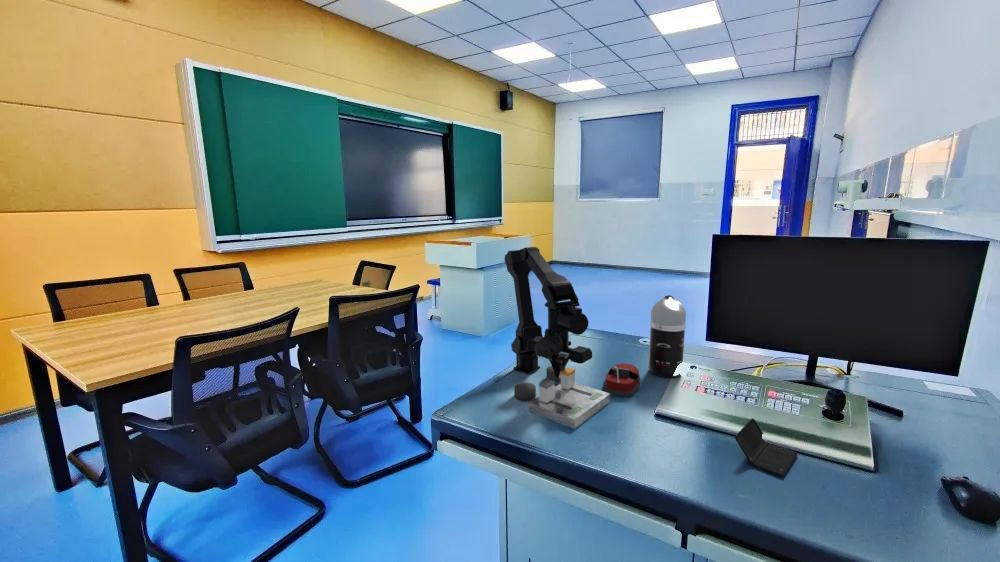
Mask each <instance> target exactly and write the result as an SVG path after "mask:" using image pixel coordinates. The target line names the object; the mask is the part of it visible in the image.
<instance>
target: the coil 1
mask: <svg viewBox="0 0 1000 562" xmlns="http://www.w3.org/2000/svg"><path fill="white" fill-rule="evenodd" d="M536 391H537V386H536V384H534V383H531V382H527V381H523V382H519V383H515V385H514V399H515V400H517V401H520V402H530V401H532V400H534V399H536V398H537V393H536Z"/></svg>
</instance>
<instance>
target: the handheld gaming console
mask: <svg viewBox="0 0 1000 562" xmlns="http://www.w3.org/2000/svg"><path fill="white" fill-rule="evenodd" d="M762 434H764V432H763V431H762V429H761V428H760V426H759V425H758V423H757V421H756V420H755V419H754V418H750V420H749V421H748V422H747V423H746V424H745V425H744V426H743V427H742V428H741V429H740V430H739V431H738V432H737V433H736V434H735V436H734V440H736V442H737V444H738V445H739V447H740V449H741V451H742V452H743V454H744V455H745V457H746V459H747V460H748V462H749V467H752V468H755V469H757V470H759V471H763V472H766V473H767V474H769V475H773V476H775V477H778V478H780V479H783V478H784V477H785V476H786V474H787V472H788V471H789V469H790V468H791V466H792V465H791V464H793V463H794V462H793V461H795V460H796V458H797V457H796V456H798V452H797V451H794V450H791V449H790V448H789V449H788V448H786V447H783V446H780V445H778V444H775V445H773V444H774V443H772V444H769V443H768V442H765V441H764V440H763V439H762ZM777 445H778V446H777ZM795 457H796V458H795ZM794 459H795V460H794ZM792 462H793V463H792ZM789 467H790V468H789ZM784 475H785V476H784Z"/></svg>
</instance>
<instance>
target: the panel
mask: <svg viewBox="0 0 1000 562" xmlns="http://www.w3.org/2000/svg"><path fill="white" fill-rule="evenodd" d="M609 403H611V395H610V393H607V392H604V390H603V391H602V390H600V389H597V388H593V387H590V386H587V385H584V384H580V383H577V382H575V386H573V387H572V388H570V389H568V390H567V389H564V388H561V383H558V385H555V398H554V399H553V400H551V401H549V402H548V403H545V402H542V401H540V400H539V396H536V398H535V399H534V400H532V401H528V412H530V413H533V414H534V415H535V414H536V415H538V416H540V417H542V418H545V419H548V420H551V421H553V422H555V423H557V424H561V425H563V426H566V427H569V428H571V429H573V430H576V429H577V428H578V427H579V426H581V425H582V424H584V422H586V421H588V420H589V419H590V418H591V417H592V416H594V415H596V413H598V412H599V411H600V410H602V409H603V408H605V406H607V405H608V404H609Z"/></svg>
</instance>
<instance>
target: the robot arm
mask: <svg viewBox="0 0 1000 562" xmlns="http://www.w3.org/2000/svg"><path fill="white" fill-rule="evenodd" d="M540 252H541V251H540V249H539V248H538V247H536V246H529V247H528V246H527V247H523V248H521V249H515V250H514V249H513V250H508V251H507V253H506V254H505V255H504V264H505V266H506V271H507V272H508V273H509V275H510V276H511V277H512V279H513V284H514V293H515V299H516V300H515V301H516V307H517V316H518V324H517V327H516V329H515V338H514V340H513V341H512V342H511V345H510V347H511V351H512V352H513V353H514V354H516V355H515V359H516V364H515V365H516V366H514V367H513V370H515V371H518V372H521V373H525V374H529V375H530V374H531V373H533V372H535V371H537V370H539V369H540V368H541V366H540V365H539V357H542V358H545V359H547V360H548V361H549V362H550V365H551V366H552V368H553V370H554V373H555V376H556V378H560V377H561V374H560V371H562V370H564V369H566V367H567V364H568V362H569V361H570V362H573V363H574V364H575V363H576V364H579V365H580V364H584V363H586V362H587V361H590V360H591V359H593V351H592V349H591V348H590V347H585V346H582V345H579V346H576V347H570V346H572V341H571V340H569V339H570V336H569V333H572V334H574V335H577V336H578V335H579V336H581V335H582V334H584V333H585V332H586V331H587V329H588V328H589V324H590V323H589V319H588V317H587V315H586V314H584V313H583V309H582V308H581V307H580V302H579V297H578V296H577V294H576V292H575V289H574V286H573V285H572V283H571V281H570V280H568V279H567V278H566V276H563V275H561V274H559V273H557V272H556V271H555V270H554V269H553V268H552V267H551V265H550V264H549V263H548V262H547V260H546V259H545V258H544V256H543V255H542V254H541V253H540ZM531 271H532V273H534V275H535V276H536V278H537V279H538V280H539V282H540V284H541V292H542V294H543V297H544V299H545V300H546V302H545V303H544V307H546V308H547V328H546V329H545V330H544V335H543V331H542V330H543V329H542V327H541V325H538V323H537V322H536V321H535V317H534V308H533V302H532V294H531V287H530V279H529V275H530V273H531Z"/></svg>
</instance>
